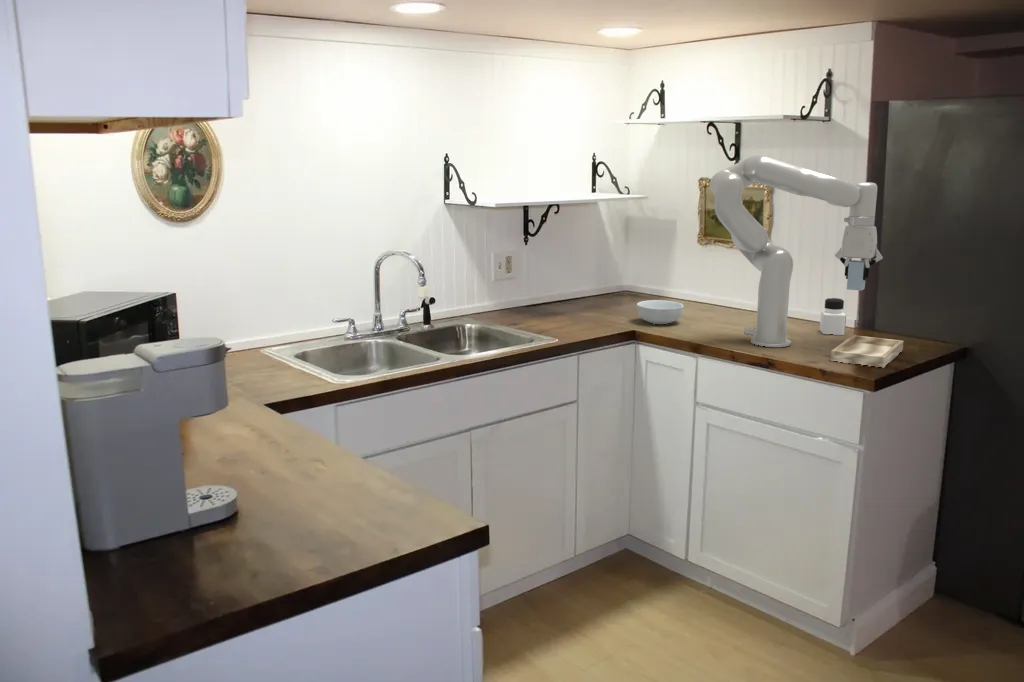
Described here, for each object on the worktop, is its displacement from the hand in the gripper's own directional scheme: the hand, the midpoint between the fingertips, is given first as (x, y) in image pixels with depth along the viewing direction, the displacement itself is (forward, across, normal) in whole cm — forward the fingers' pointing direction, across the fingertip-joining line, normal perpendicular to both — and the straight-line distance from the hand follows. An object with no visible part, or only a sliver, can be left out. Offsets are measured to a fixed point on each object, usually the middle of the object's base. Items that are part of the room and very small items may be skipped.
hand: (856, 278), depth 269 cm
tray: (+21, +8, -16) cm, 28 cm away
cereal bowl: (+22, -66, -3) cm, 70 cm away
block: (+3, 0, 0) cm, 3 cm away
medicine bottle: (+22, -9, +13) cm, 27 cm away
